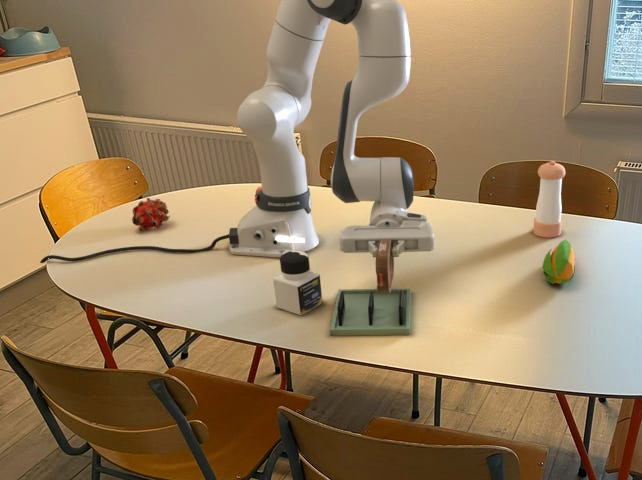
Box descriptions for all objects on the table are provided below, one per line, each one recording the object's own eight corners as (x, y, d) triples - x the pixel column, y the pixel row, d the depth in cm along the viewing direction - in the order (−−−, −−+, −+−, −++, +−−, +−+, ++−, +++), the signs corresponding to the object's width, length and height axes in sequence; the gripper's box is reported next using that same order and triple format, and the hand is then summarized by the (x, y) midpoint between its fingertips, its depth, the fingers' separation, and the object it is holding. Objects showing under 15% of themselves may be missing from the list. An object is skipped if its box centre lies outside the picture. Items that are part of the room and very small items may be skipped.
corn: (542, 258, 164) (551, 226, 180) (537, 289, 168) (546, 255, 184) (575, 263, 162) (581, 230, 179) (570, 294, 167) (576, 259, 183)
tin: (389, 300, 148) (390, 261, 144) (373, 299, 148) (374, 260, 144) (394, 268, 161) (395, 232, 156) (380, 268, 161) (380, 231, 156)
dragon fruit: (173, 225, 206) (143, 246, 197) (149, 205, 205) (117, 225, 197) (180, 205, 199) (149, 226, 191) (155, 185, 199) (123, 205, 190)
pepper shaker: (565, 231, 199) (571, 160, 189) (553, 239, 193) (559, 167, 183) (540, 225, 202) (545, 155, 192) (528, 234, 197) (533, 162, 187)
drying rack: (330, 335, 149) (328, 314, 147) (338, 294, 165) (337, 274, 163) (409, 334, 150) (408, 313, 147) (410, 294, 166) (410, 273, 163)
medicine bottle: (301, 316, 157) (295, 263, 150) (276, 308, 160) (269, 256, 154) (323, 303, 162) (318, 252, 156) (298, 295, 165) (292, 245, 159)
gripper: (340, 216, 164) (334, 240, 152) (433, 214, 164) (434, 238, 153) (342, 243, 167) (337, 268, 155) (433, 241, 168) (434, 267, 156)
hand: (386, 253), depth 154 cm, fingers closed on tin, 2 cm apart
